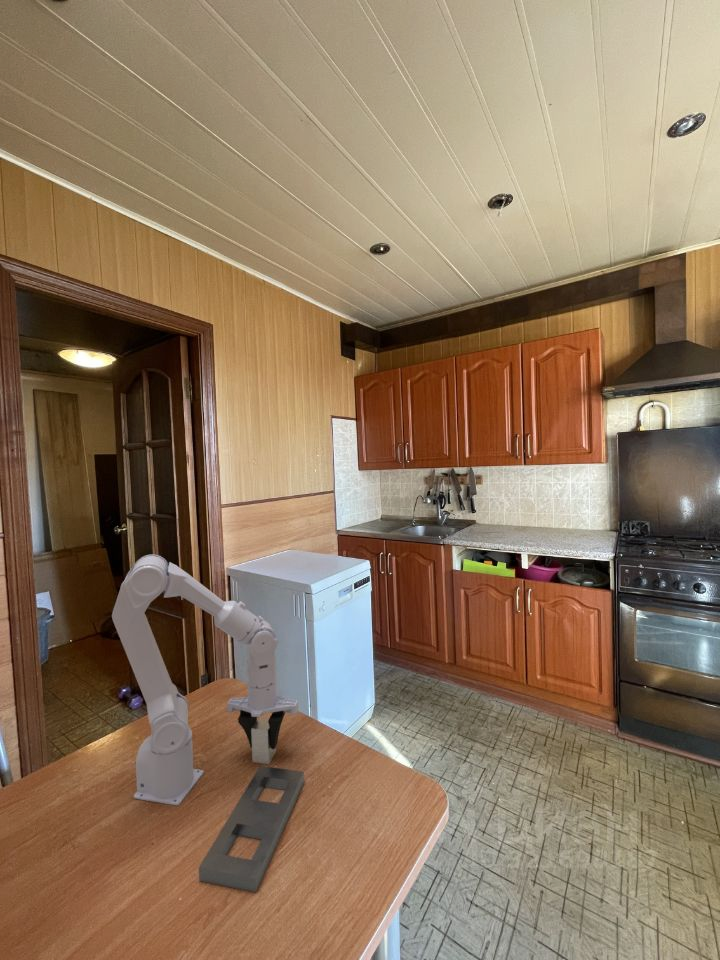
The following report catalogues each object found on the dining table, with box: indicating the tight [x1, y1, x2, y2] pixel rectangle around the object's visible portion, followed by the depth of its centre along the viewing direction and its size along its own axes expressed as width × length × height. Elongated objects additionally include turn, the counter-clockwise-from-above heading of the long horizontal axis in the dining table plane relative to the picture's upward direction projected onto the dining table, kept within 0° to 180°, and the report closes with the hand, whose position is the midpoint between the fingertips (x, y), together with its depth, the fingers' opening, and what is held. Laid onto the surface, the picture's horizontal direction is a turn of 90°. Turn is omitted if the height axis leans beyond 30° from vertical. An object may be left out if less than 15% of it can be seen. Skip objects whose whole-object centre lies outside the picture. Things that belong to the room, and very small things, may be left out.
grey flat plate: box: [198, 765, 305, 893], centre depth 67 cm, size 9×20×2 cm, turn 168°
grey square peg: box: [251, 717, 277, 765], centre depth 82 cm, size 4×4×7 cm
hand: (264, 745), depth 82 cm, fingers closed on grey square peg, 4 cm apart
